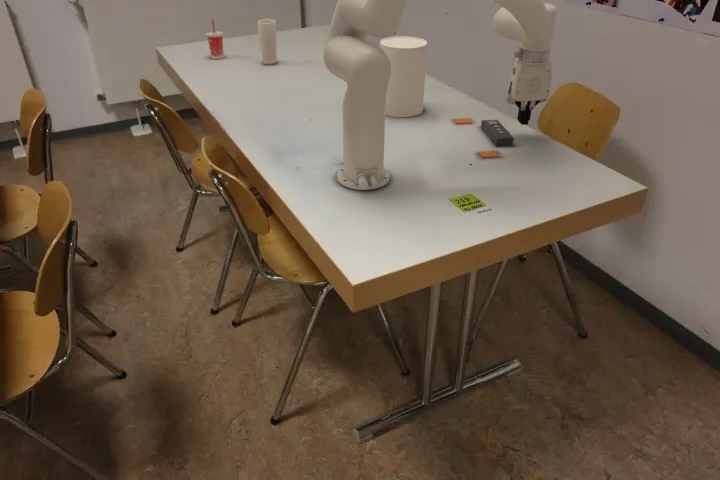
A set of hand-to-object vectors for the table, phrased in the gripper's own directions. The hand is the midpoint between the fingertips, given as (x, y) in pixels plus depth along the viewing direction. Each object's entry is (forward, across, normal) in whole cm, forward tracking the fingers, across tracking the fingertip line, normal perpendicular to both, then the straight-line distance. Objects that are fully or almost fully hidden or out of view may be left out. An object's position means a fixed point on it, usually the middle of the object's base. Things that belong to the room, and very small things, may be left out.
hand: (522, 122), depth 157 cm
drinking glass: (+4, -68, +78) cm, 104 cm away
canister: (+4, -29, +24) cm, 38 cm away
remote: (+3, -7, 0) cm, 8 cm away
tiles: (+3, -13, 0) cm, 14 cm away
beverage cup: (+3, -88, +88) cm, 125 cm away
